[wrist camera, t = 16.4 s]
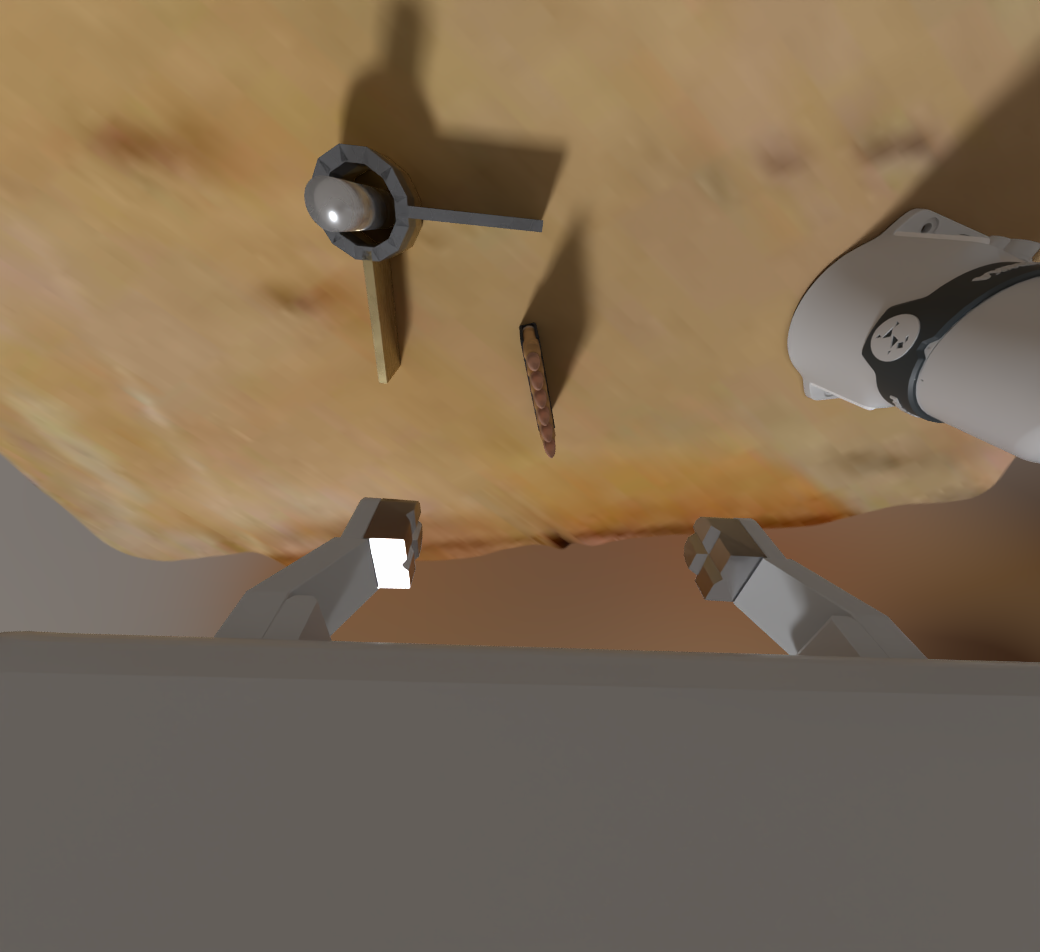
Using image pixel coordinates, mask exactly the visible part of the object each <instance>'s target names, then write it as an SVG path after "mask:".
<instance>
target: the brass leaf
mask: <svg viewBox="0 0 1040 952" xmlns="http://www.w3.org/2000/svg"><path fill="white" fill-rule="evenodd" d="M379 154H380V153H379ZM380 155H381V156H383V157H384V158H385V159H386V160H388V161H389V162H390V163H391V164H393V165H394V166H395V167H396V168H398V169H399V170H400V171H401V173H402V175H403V177H404V179H405V181H406V183H407V185H408V187H409V189H410V191H411V193H412V195H413V197H414V202H415V207H421V199H420V197H419V195H418V193H417V191H416V189H415V187H414V185H413V183H412V181H411V179H410V177H409V175H408V174H407V173H406V172H405V171H404V170H402V169H401V168H400V167H399V166H397V165H396V164H395V163H394V162H392V161H391V160H390V159H389V158H387V157H386V156H384V155H382V154H380ZM367 170H372V169H371V168H369V167H362V166H357V167H355V168H354V169H353V170H351V171H350V172H348V173H347V174H345V175H344V176H343V178H342V180H346V181H350V182H354V180H355V178H357V177H358V176H360V175H361V174H363V173H364V172H366V171H367ZM421 227H422V219H416V227H415V230H414V232H413V234H412V236H411V238H410V241H409V243H408V245H407V247H406V248H405V249H404V250H402V251H400V252H399V253H397V254H395V255H394V256H392V257H395V256H397V255H399V254H400V253H402V252H404V251H406V250H407V249H409V248H411V247H412V246H413V245H414V243H415V240H416V238H417V236H418V234H419V232H420V229H421ZM351 233H353V234H354V235H355V236H357V237H358V238H360V239H361V240H362V241H364V242H365V243H367V244H373V245H380V244H381V243H378V242H375V241H374V240H372V239H371V238H370V237H368V236H367V235H365V234H364V233H363V232H362V231H351ZM366 252H367V253H368V254H367V257H368V256H370V257H369V258H368V259H370V258H371V256H372V255H371V251H369V252H368V251H366ZM362 253H365V252H362ZM369 254H370V255H369ZM363 255H366V254H362V258H363V257H365V258H367V257H366V256H363ZM392 257H390V258H392ZM390 258H388V259H386V260H383V261H380V262H379V261H372V259H370V260H367V259H365V260H364V259H363V266H364V274H365V281H366V289H367V296H368V304H369V311H370V319H371V326H372V334H373V341H374V348H375V356H376V363H377V371H378V378H379V383H388V382H389V380H390V379H391V378H392V376H393V375H394V374H395V372H396V371H397V370H398V368H399V367H400V357H399V347H398V337H397V326H396V316H395V306H394V295H393V285H392V275H391V264H390Z"/></svg>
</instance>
